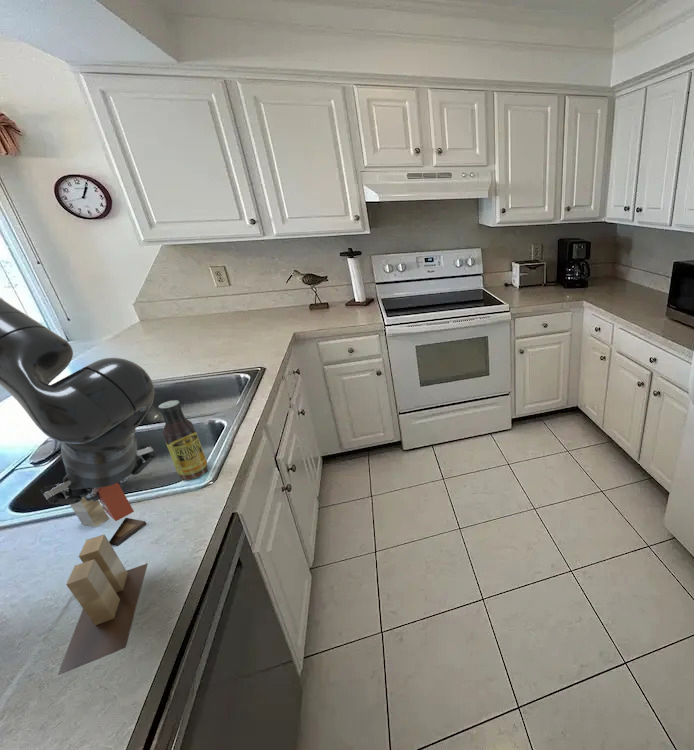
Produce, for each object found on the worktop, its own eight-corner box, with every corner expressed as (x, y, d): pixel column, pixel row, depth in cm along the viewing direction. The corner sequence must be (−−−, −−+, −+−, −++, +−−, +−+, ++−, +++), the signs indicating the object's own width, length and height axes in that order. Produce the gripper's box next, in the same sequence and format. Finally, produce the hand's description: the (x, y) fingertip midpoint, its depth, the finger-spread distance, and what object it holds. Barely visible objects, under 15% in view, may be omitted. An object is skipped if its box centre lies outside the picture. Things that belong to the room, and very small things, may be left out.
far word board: (117, 545, 83) (93, 505, 79) (73, 536, 86) (47, 496, 81) (146, 523, 88) (125, 484, 84) (103, 515, 91) (81, 477, 86)
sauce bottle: (187, 484, 100) (156, 414, 91) (175, 476, 103) (143, 407, 94) (215, 469, 105) (188, 402, 96) (203, 462, 108) (175, 395, 99)
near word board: (59, 678, 61) (21, 633, 56) (95, 584, 75) (66, 542, 71) (127, 650, 64) (96, 605, 60) (149, 566, 79) (125, 524, 74)
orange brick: (115, 521, 68) (87, 473, 63) (106, 512, 69) (78, 465, 65) (134, 511, 70) (108, 464, 65) (124, 503, 71) (98, 456, 67)
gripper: (144, 409, 63) (141, 450, 74) (15, 457, 52) (34, 497, 64) (173, 447, 63) (165, 483, 74) (49, 504, 52) (62, 536, 63)
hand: (104, 490), depth 69 cm, fingers closed on orange brick, 2 cm apart
